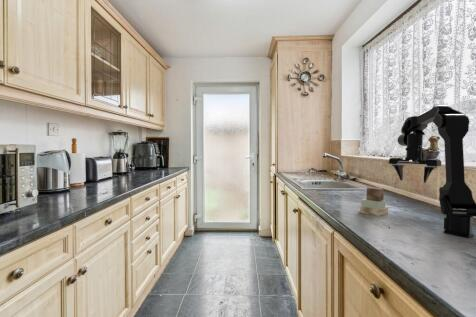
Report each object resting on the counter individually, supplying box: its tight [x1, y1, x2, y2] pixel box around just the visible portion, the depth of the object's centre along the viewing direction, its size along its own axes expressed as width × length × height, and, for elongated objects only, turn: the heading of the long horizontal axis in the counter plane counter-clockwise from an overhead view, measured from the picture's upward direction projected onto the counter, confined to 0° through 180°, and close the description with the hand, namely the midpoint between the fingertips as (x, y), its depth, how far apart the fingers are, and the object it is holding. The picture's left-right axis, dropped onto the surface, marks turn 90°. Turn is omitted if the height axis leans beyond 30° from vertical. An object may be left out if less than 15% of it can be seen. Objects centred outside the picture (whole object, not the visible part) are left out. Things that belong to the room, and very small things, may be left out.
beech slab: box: [359, 205, 389, 217], centre depth 115 cm, size 8×8×3 cm
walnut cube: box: [365, 186, 385, 201], centre depth 115 cm, size 5×5×5 cm
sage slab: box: [360, 197, 387, 209], centre depth 115 cm, size 7×7×3 cm
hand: (412, 181), depth 119 cm, fingers open, 9 cm apart
